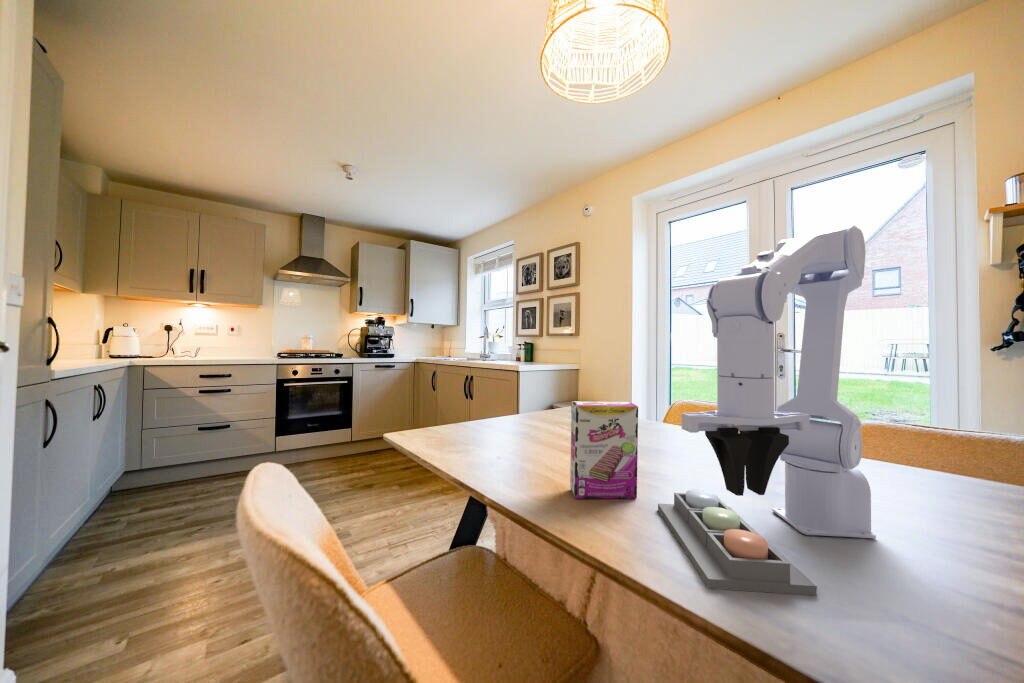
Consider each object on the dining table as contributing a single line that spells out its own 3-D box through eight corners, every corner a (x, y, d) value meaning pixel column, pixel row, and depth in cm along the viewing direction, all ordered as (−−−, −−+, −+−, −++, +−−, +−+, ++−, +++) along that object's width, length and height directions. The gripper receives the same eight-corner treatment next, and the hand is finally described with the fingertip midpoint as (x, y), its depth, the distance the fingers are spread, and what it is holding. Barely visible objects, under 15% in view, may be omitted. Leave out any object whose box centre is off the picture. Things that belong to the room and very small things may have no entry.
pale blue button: (711, 502, 59) (711, 490, 59) (723, 515, 55) (723, 501, 55) (681, 501, 60) (681, 488, 60) (692, 513, 55) (692, 500, 55)
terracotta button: (755, 546, 46) (755, 530, 46) (776, 567, 42) (776, 549, 42) (717, 544, 47) (717, 528, 47) (734, 564, 42) (734, 546, 42)
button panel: (729, 513, 60) (729, 494, 60) (816, 595, 40) (816, 567, 40) (658, 509, 61) (657, 491, 61) (708, 588, 41) (708, 560, 42)
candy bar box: (575, 500, 65) (575, 404, 65) (569, 489, 70) (569, 400, 70) (639, 499, 65) (639, 404, 66) (629, 488, 70) (629, 400, 71)
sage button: (730, 522, 53) (730, 507, 53) (746, 538, 48) (746, 522, 48) (697, 520, 53) (697, 506, 53) (710, 536, 49) (710, 520, 49)
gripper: (776, 373, 49) (777, 478, 49) (668, 374, 48) (669, 481, 48) (825, 378, 42) (826, 501, 42) (700, 378, 41) (700, 504, 41)
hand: (745, 492), depth 44 cm, fingers closed
